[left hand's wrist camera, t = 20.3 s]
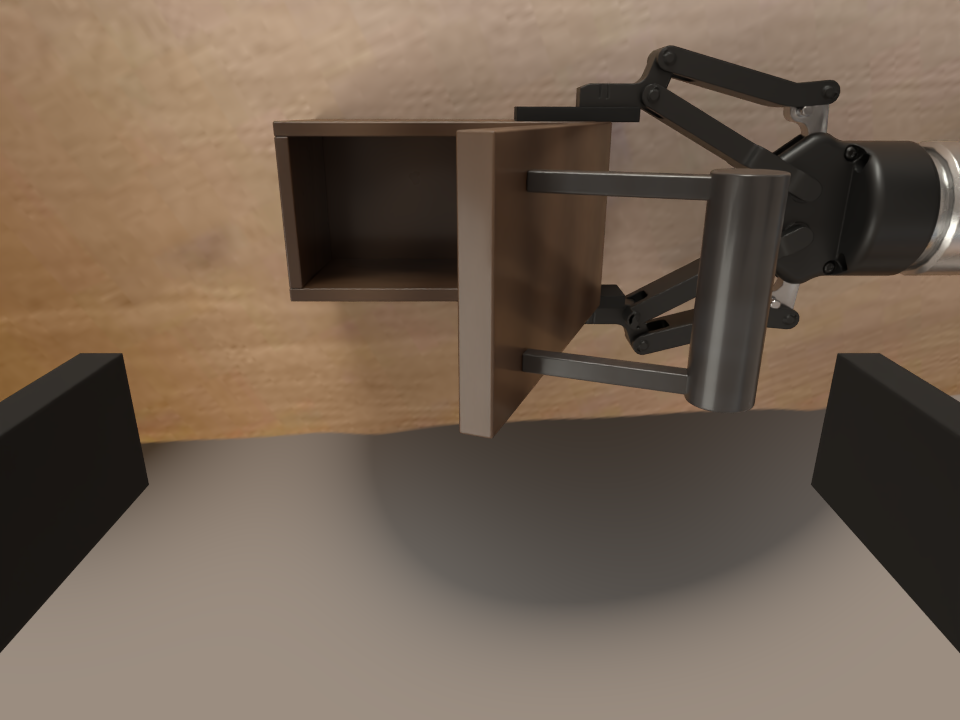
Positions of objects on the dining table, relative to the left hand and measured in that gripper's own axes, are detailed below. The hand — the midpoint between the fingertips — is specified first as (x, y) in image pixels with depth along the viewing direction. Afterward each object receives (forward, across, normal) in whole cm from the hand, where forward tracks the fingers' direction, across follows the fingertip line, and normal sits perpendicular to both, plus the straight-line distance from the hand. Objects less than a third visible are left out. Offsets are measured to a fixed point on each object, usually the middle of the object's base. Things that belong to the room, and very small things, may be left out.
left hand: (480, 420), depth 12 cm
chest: (+34, -2, 0) cm, 34 cm away
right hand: (+28, +2, 0) cm, 28 cm away
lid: (+17, +2, 0) cm, 17 cm away
